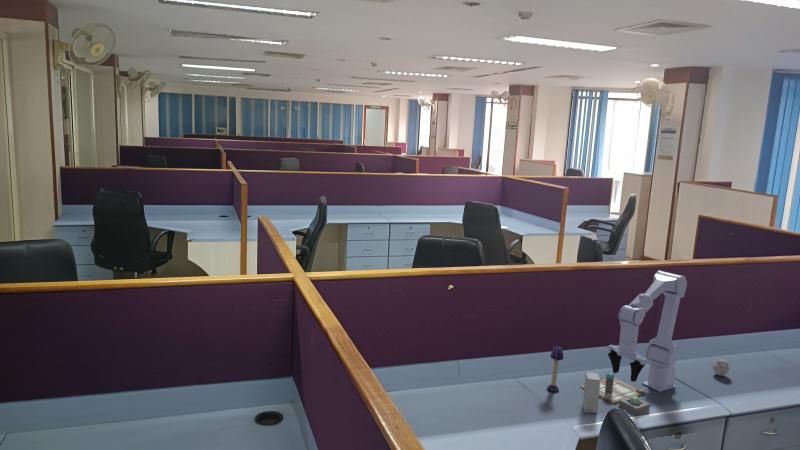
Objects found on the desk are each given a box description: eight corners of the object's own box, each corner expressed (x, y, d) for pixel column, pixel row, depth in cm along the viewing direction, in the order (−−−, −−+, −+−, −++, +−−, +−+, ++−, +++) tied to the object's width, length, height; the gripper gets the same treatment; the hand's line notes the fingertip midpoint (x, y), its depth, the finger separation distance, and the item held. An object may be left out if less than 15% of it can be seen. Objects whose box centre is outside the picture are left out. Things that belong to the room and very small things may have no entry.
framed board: (613, 377, 222) (613, 375, 222) (646, 393, 209) (647, 391, 209) (580, 387, 213) (580, 384, 213) (613, 404, 200) (613, 401, 200)
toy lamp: (554, 386, 213) (558, 344, 210) (563, 391, 209) (567, 348, 206) (544, 388, 211) (548, 345, 208) (552, 394, 207) (556, 350, 204)
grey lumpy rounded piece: (714, 378, 225) (716, 361, 224) (708, 371, 232) (710, 354, 231) (730, 380, 224) (733, 363, 223) (725, 373, 231) (727, 356, 230)
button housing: (631, 402, 202) (632, 395, 202) (649, 410, 196) (649, 404, 196) (618, 406, 199) (619, 399, 198) (635, 415, 193) (636, 408, 192)
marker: (608, 389, 210) (610, 371, 209) (614, 392, 208) (615, 374, 207) (603, 391, 209) (604, 373, 208) (608, 394, 207) (610, 376, 205)
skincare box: (597, 413, 193) (600, 380, 191) (584, 412, 194) (587, 378, 192) (595, 405, 199) (598, 373, 197) (582, 403, 200) (585, 371, 198)
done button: (633, 402, 200) (634, 394, 199) (641, 407, 197) (642, 399, 196) (626, 404, 198) (627, 396, 197) (635, 409, 195) (635, 401, 195)
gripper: (603, 334, 203) (600, 370, 205) (638, 348, 191) (634, 387, 193) (617, 332, 206) (613, 367, 209) (652, 345, 194) (647, 383, 196)
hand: (624, 376), depth 201 cm, fingers open, 7 cm apart
